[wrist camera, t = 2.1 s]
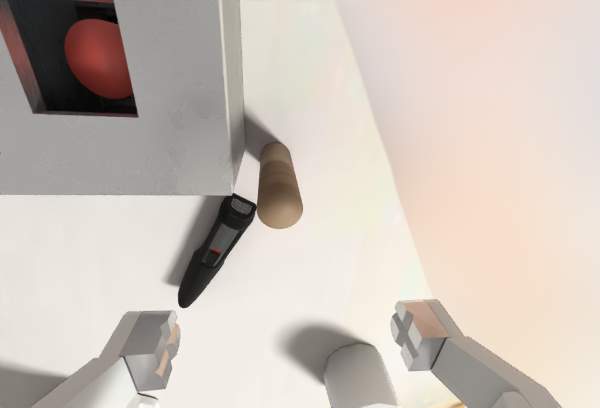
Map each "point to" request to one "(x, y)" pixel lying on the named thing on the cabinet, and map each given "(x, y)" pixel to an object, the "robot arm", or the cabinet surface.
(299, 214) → the walnut dowel
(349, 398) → the toilet tissue
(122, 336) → the robot arm
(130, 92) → the button
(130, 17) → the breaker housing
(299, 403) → the cabinet surface
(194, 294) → the electric trimmer
